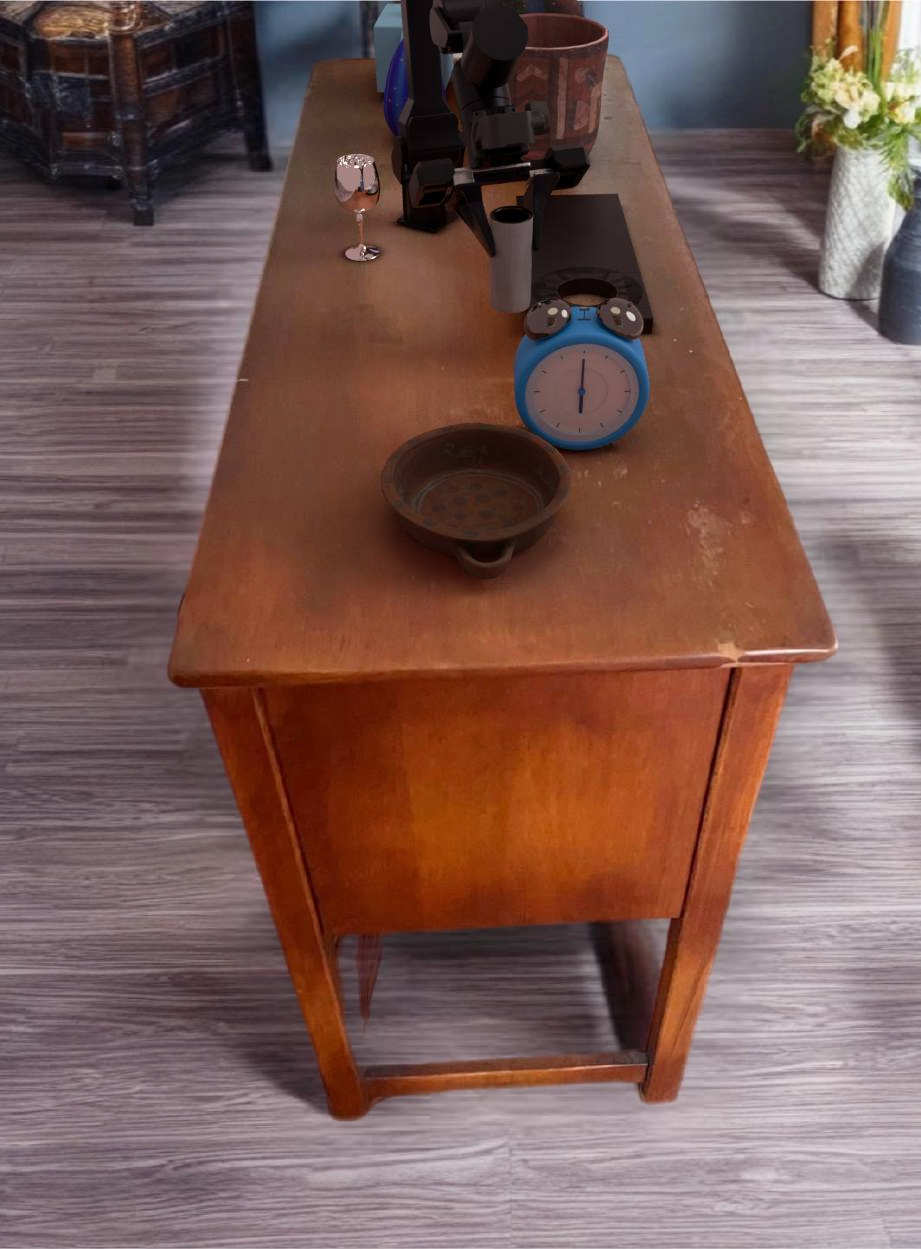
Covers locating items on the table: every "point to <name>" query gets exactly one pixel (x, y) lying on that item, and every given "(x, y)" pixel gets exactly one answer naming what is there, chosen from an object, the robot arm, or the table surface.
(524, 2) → the decorative sphere
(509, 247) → the planter
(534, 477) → the dish
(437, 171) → the robot arm
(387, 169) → the table surface
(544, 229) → the plant stand
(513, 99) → the pottery
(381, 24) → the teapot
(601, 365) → the alarm clock
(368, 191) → the wineglass
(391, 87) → the ornament
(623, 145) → the table surface
